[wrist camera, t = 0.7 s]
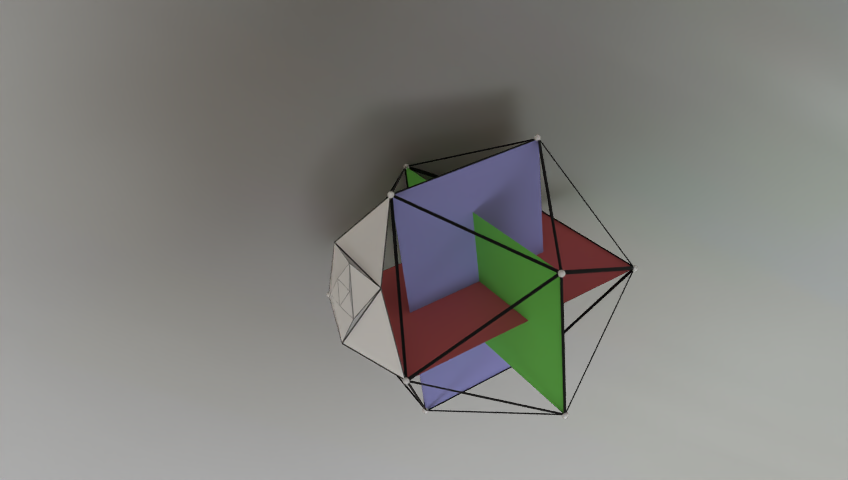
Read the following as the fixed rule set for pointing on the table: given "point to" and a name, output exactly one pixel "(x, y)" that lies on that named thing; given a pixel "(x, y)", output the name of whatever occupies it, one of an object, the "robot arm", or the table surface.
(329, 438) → the table surface
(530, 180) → the icosahedron model
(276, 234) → the table surface
